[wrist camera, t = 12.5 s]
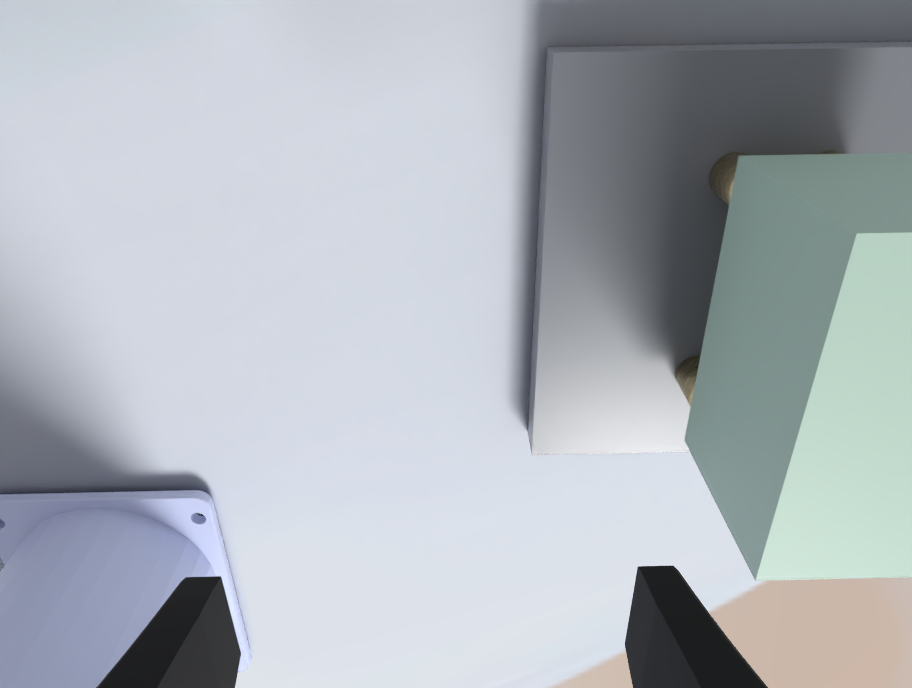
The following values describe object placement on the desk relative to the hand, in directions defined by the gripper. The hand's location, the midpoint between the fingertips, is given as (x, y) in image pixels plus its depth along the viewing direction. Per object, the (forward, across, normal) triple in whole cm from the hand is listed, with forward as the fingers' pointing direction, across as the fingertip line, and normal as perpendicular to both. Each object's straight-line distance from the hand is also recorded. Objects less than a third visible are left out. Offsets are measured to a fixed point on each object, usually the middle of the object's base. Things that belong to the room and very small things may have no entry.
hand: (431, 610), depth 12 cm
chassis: (+10, -9, -2) cm, 14 cm away
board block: (+7, -9, -2) cm, 12 cm away
